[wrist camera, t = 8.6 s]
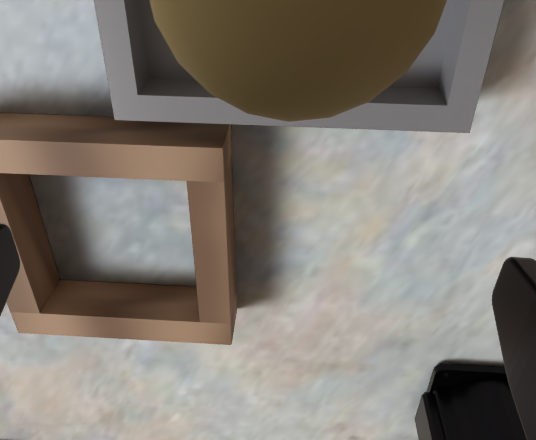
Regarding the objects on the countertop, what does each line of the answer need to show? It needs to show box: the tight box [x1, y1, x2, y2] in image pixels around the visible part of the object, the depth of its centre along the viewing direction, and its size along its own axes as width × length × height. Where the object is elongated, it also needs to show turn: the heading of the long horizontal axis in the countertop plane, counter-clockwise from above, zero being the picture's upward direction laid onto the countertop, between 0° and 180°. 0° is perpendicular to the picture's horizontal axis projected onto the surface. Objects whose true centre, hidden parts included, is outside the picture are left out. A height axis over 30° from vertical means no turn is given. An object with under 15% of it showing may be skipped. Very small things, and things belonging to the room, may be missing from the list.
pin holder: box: [0, 113, 237, 345], centre depth 24 cm, size 11×11×2 cm
